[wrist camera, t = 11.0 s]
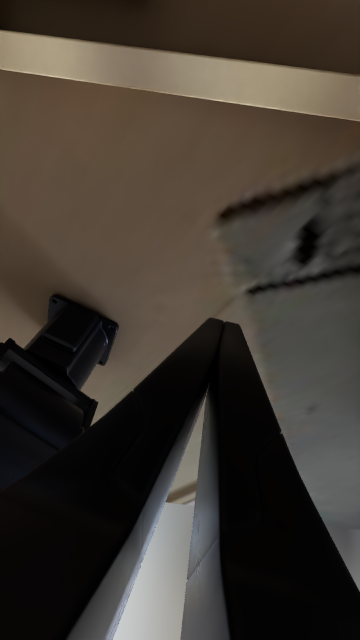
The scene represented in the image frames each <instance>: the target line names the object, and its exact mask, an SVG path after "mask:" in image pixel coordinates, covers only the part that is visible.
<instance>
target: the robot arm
mask: <svg viewBox="0 0 360 640" xmlns="http://www.w3.org/2000/svg"><path fill="white" fill-rule="evenodd" d="M118 328H119V326H118V324H117V323H116V322H114V321H112V320H110V319H108V318H105V317H103V316H101V315H99V314H97V313H95V312H93V311H91V310H89V309H86V308H84V307H82V306H80V305H78V304H76V303H74V302H72V301H69V300H67V299H65V298H63V297H61V296H59V295H56V294H54V295H52V296H51V297H50V299H49V310H48V322H47V323H46V324H45V326H44V327H43V328H42V329H41V330H40V331H39V332H38V333H37V334H36V335H35V337H34V338H33V339H32V340H31V341H30V342H29V343H28V344H27V345H26V346H25V348H24V349H23V348H21V347H20V346H19V345H17V344H16V343H15V341H14V340H12V339H11V338H9V339H8V340H7V341H6V342H5V343H2V342H1V343H0V640H113V637H114V634H115V632H116V629H117V626H118V624H119V621H120V619H121V616H122V614H123V611H124V608H125V606H126V603H127V601H128V598H129V595H130V592H131V590H132V588H133V585H134V582H135V580H136V577H137V574H138V572H139V569H140V567H141V563H142V561H143V559H144V556H145V554H146V551H147V548H148V546H149V543H150V541H151V538H152V535H153V533H154V530H155V527H156V525H157V522H158V520H159V517H160V514H161V512H162V509H163V506H164V504H165V501H166V499H167V496H168V494H169V491H170V488H171V486H172V483H173V481H174V478H175V475H176V473H177V470H178V468H179V465H180V462H181V460H182V457H183V455H184V452H185V449H186V447H187V444H188V441H189V439H190V436H191V434H192V431H193V428H194V426H195V423H196V421H197V418H198V415H199V413H200V410H201V408H202V405H203V402H204V399H205V396H206V393H207V396H206V403H205V412H204V421H203V431H202V440H201V450H200V459H199V469H198V479H197V488H196V498H195V507H194V517H193V527H192V536H191V546H190V556H189V564H188V574H187V580H188V581H187V583H186V594H185V603H184V612H183V621H182V631H181V640H360V591H359V590H358V588H357V586H356V584H355V582H354V580H353V578H352V577H351V574H350V573H349V571H348V569H347V567H346V565H345V563H344V561H343V559H342V557H341V555H340V553H339V551H338V550H337V547H336V545H335V544H334V542H333V540H332V538H331V536H330V534H329V532H328V530H327V528H326V526H325V524H324V522H323V520H322V518H321V517H320V515H319V513H318V511H317V509H316V507H315V505H314V503H313V501H312V499H311V497H310V495H309V493H308V491H307V489H306V487H305V485H304V483H303V481H302V479H301V477H300V475H299V472H298V470H297V468H296V465H295V463H294V461H293V458H292V456H291V454H290V451H289V449H288V446H287V444H286V441H285V438H284V436H283V434H281V429H280V426H279V424H278V421H277V418H276V416H275V413H274V411H273V408H272V406H271V403H270V401H269V398H268V396H267V393H266V390H265V388H264V385H263V383H262V380H261V378H260V375H259V373H258V370H257V368H256V365H255V362H254V360H253V357H252V355H251V352H250V350H249V347H248V345H247V342H246V340H245V337H244V334H243V332H242V329H241V327H240V325H239V324H236V323H231V322H227V321H226V322H225V323H224V322H223V320H219V319H215V318H209V319H207V320H206V321H205V322H204V323H203V324H202V325H201V326H200V327H199V328H198V329H197V330H196V331H195V332H194V333H193V334H192V335H190V336H189V337H188V338H187V339H186V340H185V341H184V342H183V343H182V344H181V345H180V346H179V347H178V348H177V349H176V350H175V351H174V352H172V353H171V354H170V355H169V356H168V357H167V358H166V359H165V360H164V361H163V362H162V363H161V364H160V365H159V366H158V367H157V368H156V369H154V370H153V371H152V372H151V373H150V374H149V375H148V376H147V377H146V378H145V379H144V380H143V381H142V382H141V383H140V384H139V385H138V386H136V387H135V388H134V392H133V391H131V392H130V393H129V394H128V395H127V396H126V397H125V398H124V399H123V400H121V401H120V402H119V403H118V404H117V405H116V406H115V407H114V408H112V409H111V410H110V411H109V412H108V413H107V414H106V415H105V416H103V417H102V418H101V419H99V420H98V421H97V422H96V423H94V424H93V425H92V426H91V427H90V425H91V422H92V420H93V417H94V414H95V411H96V408H97V405H98V402H97V401H95V400H94V399H91V398H89V397H88V396H87V395H85V394H84V393H83V392H81V391H80V390H81V388H82V387H83V385H84V384H85V382H86V380H87V379H88V377H89V375H90V374H91V372H92V371H93V369H94V367H95V366H96V364H99V365H102V366H104V365H105V364H106V362H107V360H108V357H109V354H110V351H111V349H112V346H113V343H114V340H115V337H116V334H117V331H118ZM207 389H208V391H207Z"/></svg>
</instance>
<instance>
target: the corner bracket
mask: <svg viewBox="0 0 360 640" xmlns="http://www.w3.org/2000/svg"><path fill="white" fill-rule="evenodd" d="M0 69H2V70H9V71H16V72H23V73H30V74H37V75H43V76H50V77H57V78H64V79H71V80H78V81H85V82H92V83H98V84H105V85H112V86H119V87H126V88H133V89H140V90H147V91H154V92H160V93H167V94H174V95H181V96H188V97H195V98H202V99H209V100H215V101H222V102H229V103H236V104H243V105H250V106H257V107H264V108H270V109H277V110H284V111H291V112H298V113H305V114H312V115H319V116H326V117H332V118H339V119H346V120H353V121H360V75H358V74H350V73H343V72H335V71H327V70H319V69H311V68H303V67H295V66H287V65H279V64H271V63H263V62H255V61H247V60H239V59H231V58H223V57H216V56H208V55H200V54H192V53H184V52H176V51H168V50H160V49H152V48H144V47H136V46H128V45H120V44H112V43H104V42H96V41H88V40H81V39H73V38H65V37H57V36H49V35H41V34H33V33H25V32H17V31H9V30H1V29H0Z"/></svg>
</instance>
